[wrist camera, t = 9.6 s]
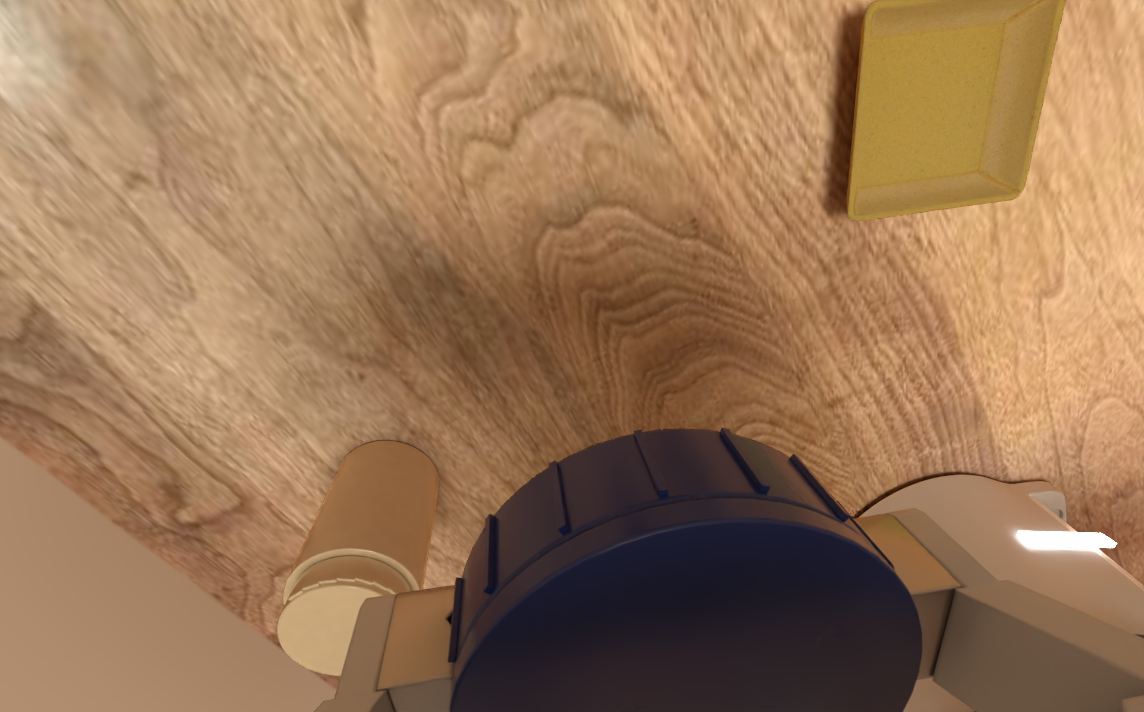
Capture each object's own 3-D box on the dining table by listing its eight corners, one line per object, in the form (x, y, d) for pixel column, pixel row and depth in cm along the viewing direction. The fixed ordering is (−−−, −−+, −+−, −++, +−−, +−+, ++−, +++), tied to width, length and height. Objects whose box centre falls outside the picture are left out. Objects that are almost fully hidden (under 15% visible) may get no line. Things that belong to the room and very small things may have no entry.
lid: (559, 360, 7) (580, 444, 5) (918, 498, 9) (1025, 596, 7) (400, 685, 9) (376, 825, 7) (717, 747, 10) (761, 873, 9)
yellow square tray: (1028, -12, 24) (1074, -23, 22) (989, 193, 28) (1025, 199, 26) (837, 9, 24) (867, 0, 22) (822, 215, 27) (846, 223, 25)
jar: (460, 487, 31) (444, 635, 22) (385, 538, 32) (341, 701, 23) (391, 421, 29) (344, 556, 20) (313, 478, 29) (235, 631, 21)
